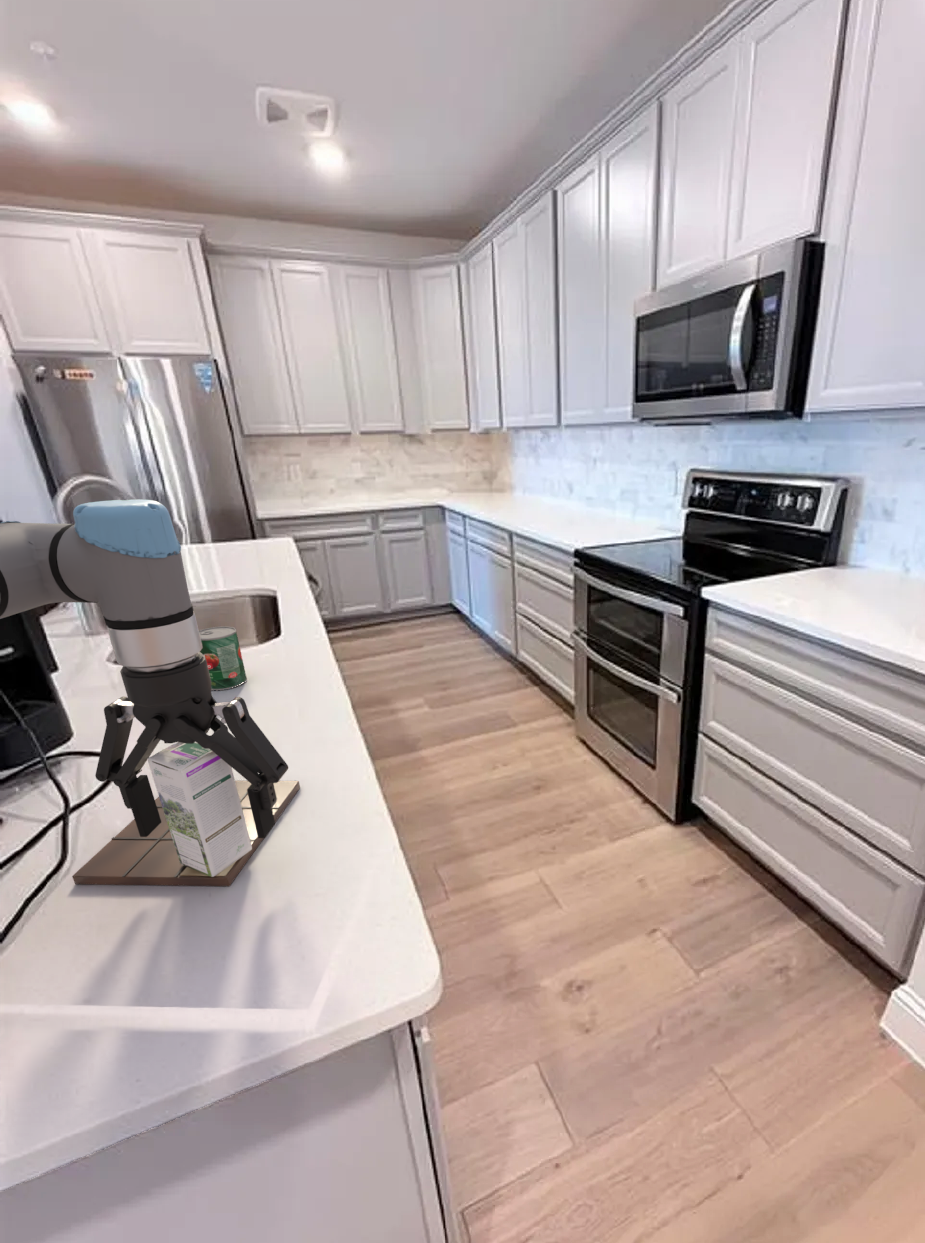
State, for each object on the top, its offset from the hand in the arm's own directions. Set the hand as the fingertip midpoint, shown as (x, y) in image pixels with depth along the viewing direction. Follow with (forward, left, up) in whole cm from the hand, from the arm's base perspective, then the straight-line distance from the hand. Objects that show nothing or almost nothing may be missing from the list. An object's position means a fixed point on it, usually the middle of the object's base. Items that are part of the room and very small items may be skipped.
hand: (208, 830), depth 68 cm
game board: (-6, +7, -5) cm, 10 cm away
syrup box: (0, 0, -4) cm, 4 cm away
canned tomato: (-28, +55, -5) cm, 62 cm away
